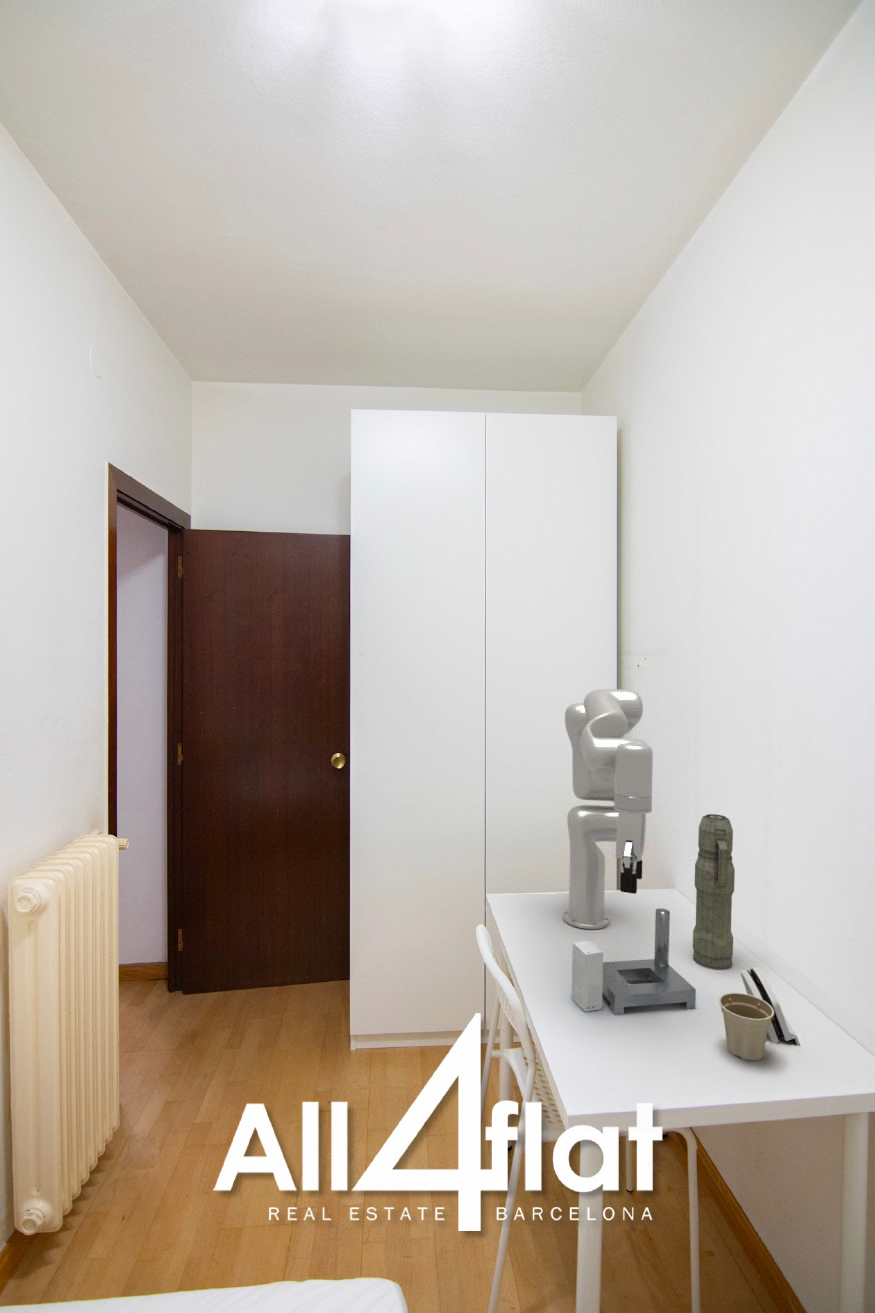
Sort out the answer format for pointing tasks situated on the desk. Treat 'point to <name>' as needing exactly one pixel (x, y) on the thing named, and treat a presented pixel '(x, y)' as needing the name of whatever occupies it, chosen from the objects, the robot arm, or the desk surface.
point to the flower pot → (745, 1024)
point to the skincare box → (587, 976)
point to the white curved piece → (761, 989)
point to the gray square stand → (647, 976)
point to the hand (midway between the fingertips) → (631, 885)
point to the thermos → (714, 893)
